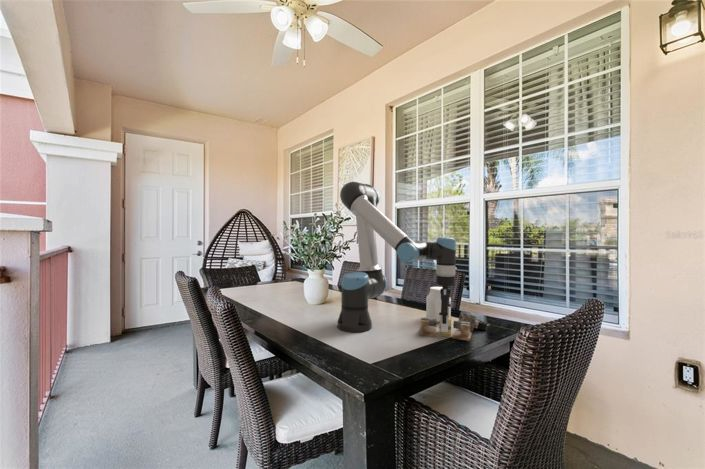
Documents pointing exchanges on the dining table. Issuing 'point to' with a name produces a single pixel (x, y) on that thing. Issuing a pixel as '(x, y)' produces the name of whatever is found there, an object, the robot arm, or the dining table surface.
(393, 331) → the dining table surface
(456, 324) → the shaft right
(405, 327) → the dining table surface
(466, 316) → the caster wheel
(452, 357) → the dining table surface
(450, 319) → the block
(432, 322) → the shaft left
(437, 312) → the jar
